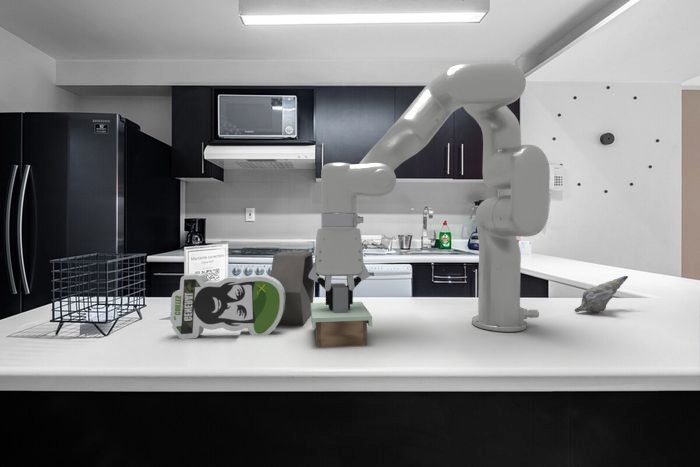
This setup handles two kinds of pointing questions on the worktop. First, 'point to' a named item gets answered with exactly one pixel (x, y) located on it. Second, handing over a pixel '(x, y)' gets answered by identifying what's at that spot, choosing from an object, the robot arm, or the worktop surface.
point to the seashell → (600, 296)
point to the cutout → (227, 304)
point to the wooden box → (341, 333)
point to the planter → (295, 285)
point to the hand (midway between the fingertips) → (339, 307)
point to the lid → (339, 308)
